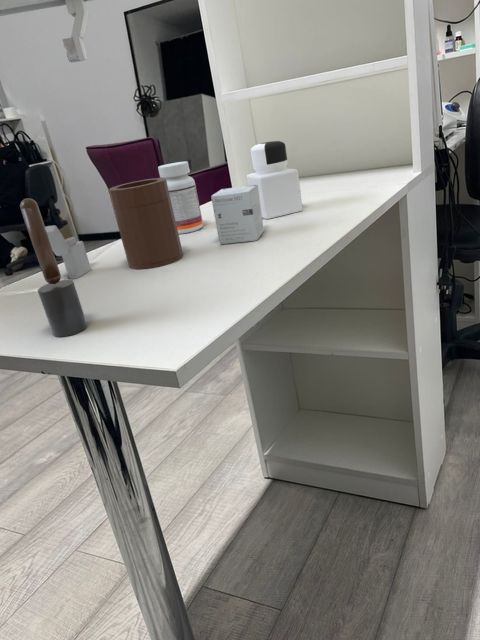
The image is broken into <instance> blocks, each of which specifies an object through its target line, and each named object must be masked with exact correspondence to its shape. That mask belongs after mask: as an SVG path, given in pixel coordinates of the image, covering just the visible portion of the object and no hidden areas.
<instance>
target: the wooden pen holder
mask: <svg viewBox="0 0 480 640" xmlns="http://www.w3.org/2000/svg"><path fill="white" fill-rule="evenodd" d="M107 191H108V194H109V199H110V202H111V205H112V206H111V207H112V209H113V213H114V216H115V220H116V224H117V227H118V231H119V235H120V238H121V242H122V247H123V249H124V253H125V257H126V261H127V264H128V267H129V268H130V269H133V270H146V269H154V268H159V267H163V266H166V265H171V264H173V263H175V262H177V261H179V260H180V259H182V258H183V257H184V253H183V248H182V243H181V239H180V234H178V230H177V225H176V221H175V216H174V212H173V208H172V203H171V199H170V194H169V190H168V186H167V181H166V178H160V177H155V178H147V179H141V180H136V181H131V182H130V181H129V182H127V183H122V184H118V185H116V186H112V187H110V188H108V189H107Z"/></svg>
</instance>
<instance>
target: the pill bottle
mask: <svg viewBox="0 0 480 640" xmlns="http://www.w3.org/2000/svg"><path fill="white" fill-rule="evenodd" d="M157 169H158V174H159V178H166V181H167V186H168V190H169V194H170V199H171V203H172V208H173V212H174V216H175V221H176V225H177V230H178V234H179V235H181V234H188V233H192V232H195V231H196V232H197V231H198V230H200V229H202V228H203V227H204V221H203V216H202V211H201V207H200V202H199V201H200V200H199V196H198V192H197V191H198V190H197V186H196V182H195V179H194V178H193V177H192V176H189V175H188V174H189V173H191V170H190V166H189V162H188V161H178V162H177V161H176V162H171V163H166V164H162V165H159V166H158V167H157Z"/></svg>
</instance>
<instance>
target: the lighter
mask: <svg viewBox="0 0 480 640" xmlns="http://www.w3.org/2000/svg"><path fill="white" fill-rule="evenodd" d="M45 229H46V232H47V235H48V238H49V241H50V244H51V247H52V250H53V253H54V256H56V257H62V261H63V264H64V267H65V270H66V273H67V276H68V280H72V279H79V278H81V277H83V276H84V275H85V274H87V273H88V272H90V271H91V270H92V266H91V264H90V259H89V258H88V257H89V256H88V254H87V249H86V248H85V247H86V246H85V244H84V241H83V240H80V241H77V237H76V236H72V237H71V236H70V237H68V238H66V239H65V237H64V236H63V234H62V232H61V231H60V229H59V228H58V227H57V225H55V224H54V225H47V226H46V225H45Z"/></svg>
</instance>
